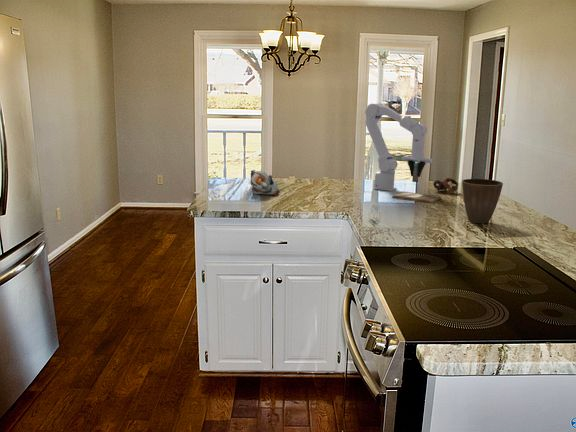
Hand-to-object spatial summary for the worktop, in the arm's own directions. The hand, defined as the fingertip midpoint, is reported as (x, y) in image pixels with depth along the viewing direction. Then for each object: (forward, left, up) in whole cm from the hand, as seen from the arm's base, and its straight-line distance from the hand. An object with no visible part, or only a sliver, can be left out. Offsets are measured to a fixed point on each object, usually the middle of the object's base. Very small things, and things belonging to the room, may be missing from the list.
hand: (415, 176), depth 266 cm
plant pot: (+40, -44, -9) cm, 60 cm away
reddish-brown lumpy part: (+12, +12, -9) cm, 19 cm away
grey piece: (-58, -48, -9) cm, 75 cm away
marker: (0, 0, -3) cm, 3 cm away
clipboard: (+5, -12, -8) cm, 16 cm away
